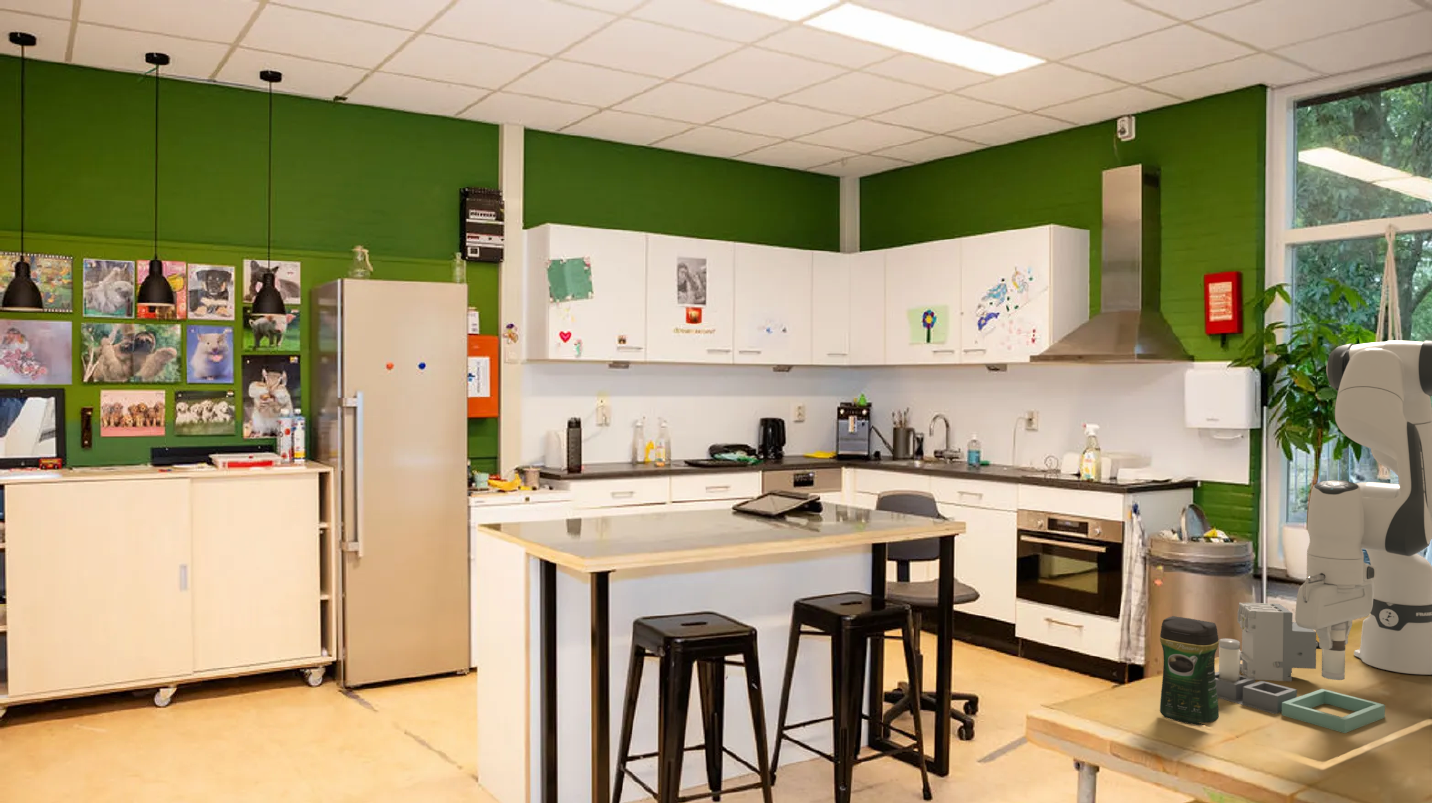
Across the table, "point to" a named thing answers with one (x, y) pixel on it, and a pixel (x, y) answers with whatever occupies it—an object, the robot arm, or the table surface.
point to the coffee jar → (1189, 670)
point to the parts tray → (1301, 711)
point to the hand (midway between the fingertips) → (1333, 646)
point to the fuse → (1229, 660)
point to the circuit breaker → (1273, 642)
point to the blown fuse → (1335, 654)
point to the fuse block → (1254, 693)
